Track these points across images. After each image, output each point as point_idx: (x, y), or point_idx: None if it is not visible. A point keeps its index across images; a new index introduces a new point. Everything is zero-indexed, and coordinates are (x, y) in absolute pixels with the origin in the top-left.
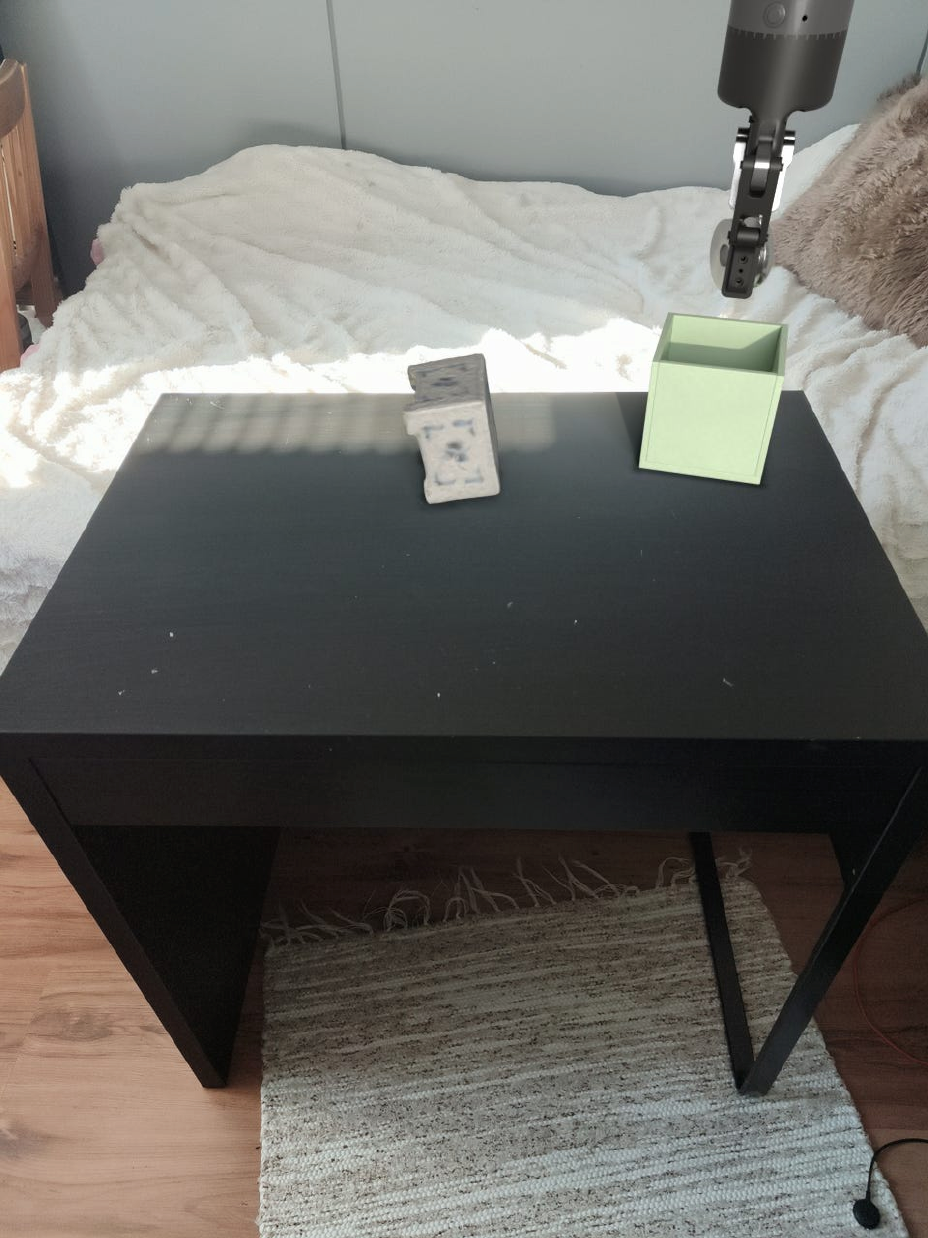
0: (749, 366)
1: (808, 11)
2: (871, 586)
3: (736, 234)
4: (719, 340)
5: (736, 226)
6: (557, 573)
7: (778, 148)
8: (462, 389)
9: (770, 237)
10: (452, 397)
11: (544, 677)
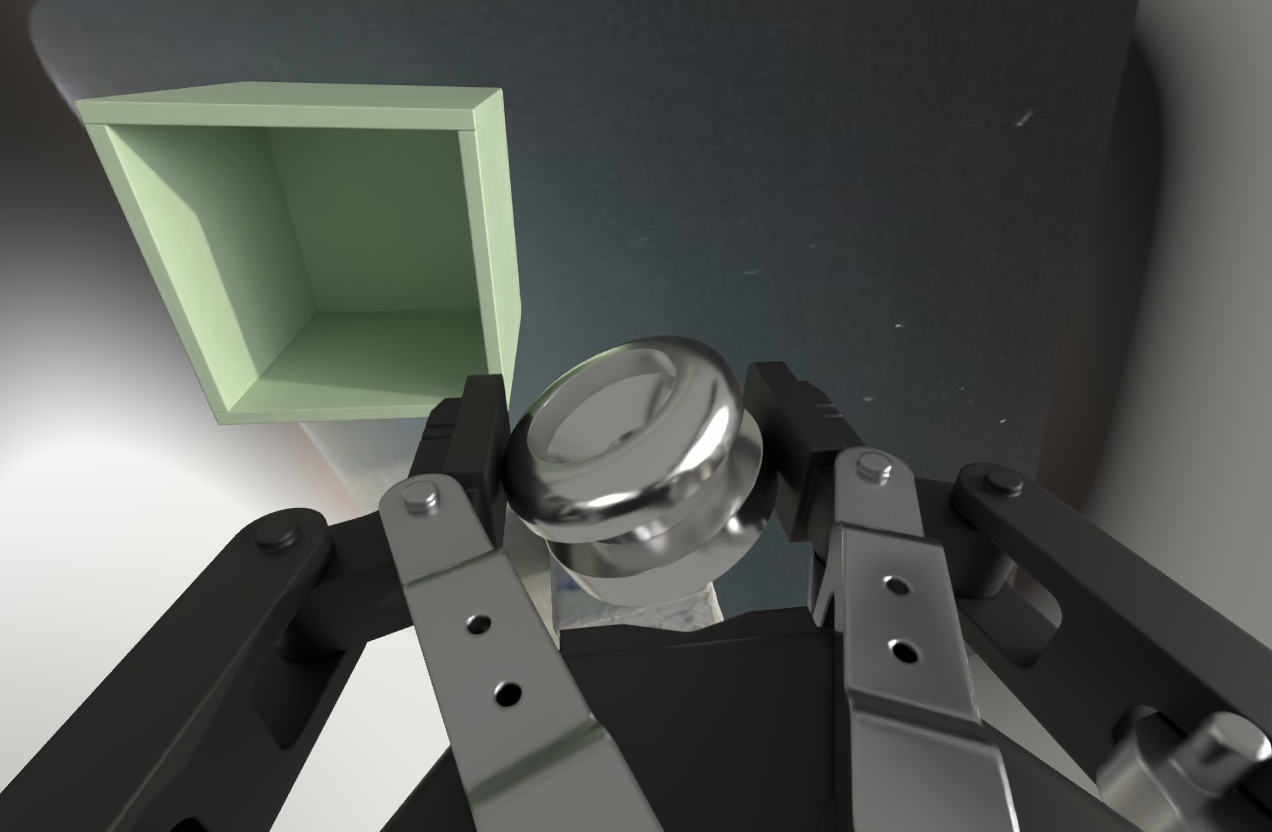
0: (209, 174)
1: None
2: None
3: (1004, 581)
4: (209, 278)
5: (1029, 610)
6: (807, 364)
7: None
8: (674, 618)
9: (716, 429)
10: (697, 619)
11: (989, 336)
